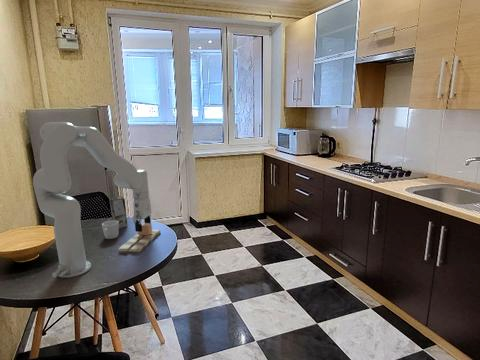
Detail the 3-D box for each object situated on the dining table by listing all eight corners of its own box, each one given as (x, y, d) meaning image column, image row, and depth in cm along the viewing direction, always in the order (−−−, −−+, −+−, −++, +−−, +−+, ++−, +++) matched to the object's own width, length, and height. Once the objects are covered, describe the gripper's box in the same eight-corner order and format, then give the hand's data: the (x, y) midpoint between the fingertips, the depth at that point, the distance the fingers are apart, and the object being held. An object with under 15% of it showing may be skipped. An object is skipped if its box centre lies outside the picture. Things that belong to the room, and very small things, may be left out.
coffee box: (128, 226, 176) (125, 198, 172) (116, 229, 173) (112, 201, 169) (124, 221, 183) (120, 195, 180) (112, 224, 180) (109, 197, 176)
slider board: (139, 253, 142) (138, 249, 141) (118, 252, 143) (118, 248, 143) (160, 233, 165) (160, 229, 164) (142, 232, 166) (142, 228, 166)
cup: (114, 242, 155) (112, 227, 153) (98, 243, 155) (96, 227, 153) (122, 234, 165) (120, 219, 163) (107, 234, 165) (105, 220, 163)
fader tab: (149, 237, 156) (148, 225, 155) (138, 236, 157) (136, 225, 156) (152, 234, 160) (151, 223, 158) (141, 234, 161) (140, 222, 159)
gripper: (139, 199, 145) (142, 234, 148) (155, 190, 161) (157, 222, 165) (124, 199, 146) (127, 233, 149) (141, 190, 163) (144, 221, 166)
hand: (143, 227), depth 157 cm, fingers open, 9 cm apart
